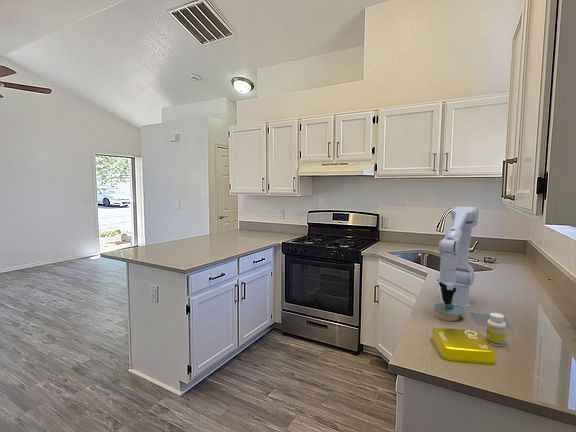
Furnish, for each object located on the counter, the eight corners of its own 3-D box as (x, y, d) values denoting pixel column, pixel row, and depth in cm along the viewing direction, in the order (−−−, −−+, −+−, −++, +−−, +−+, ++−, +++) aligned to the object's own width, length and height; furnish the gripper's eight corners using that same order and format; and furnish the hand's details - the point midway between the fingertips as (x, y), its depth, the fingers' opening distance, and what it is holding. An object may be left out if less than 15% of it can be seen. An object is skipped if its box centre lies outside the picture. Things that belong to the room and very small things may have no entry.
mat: (470, 314, 133) (470, 312, 133) (503, 317, 129) (503, 316, 129) (476, 325, 122) (476, 324, 122) (513, 330, 118) (513, 328, 118)
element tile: (430, 338, 113) (430, 325, 113) (476, 342, 110) (477, 328, 110) (442, 361, 98) (443, 346, 98) (496, 366, 96) (497, 350, 95)
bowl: (432, 311, 136) (432, 305, 135) (456, 314, 133) (456, 307, 132) (434, 320, 127) (435, 313, 127) (460, 323, 124) (460, 315, 124)
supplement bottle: (487, 337, 113) (488, 310, 112) (506, 342, 109) (507, 314, 108) (485, 343, 108) (486, 315, 108) (504, 348, 105) (505, 319, 104)
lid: (432, 304, 136) (433, 290, 136) (461, 307, 133) (462, 293, 132) (435, 313, 126) (435, 298, 126) (466, 317, 122) (467, 302, 122)
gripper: (435, 264, 136) (433, 295, 137) (439, 272, 123) (437, 307, 124) (453, 265, 134) (452, 297, 135) (459, 274, 120) (458, 309, 122)
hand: (446, 302), depth 129 cm, fingers open, 3 cm apart
